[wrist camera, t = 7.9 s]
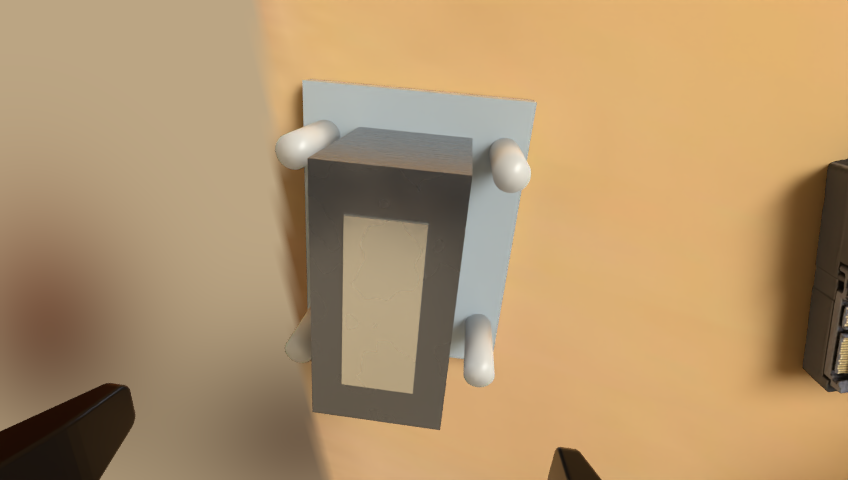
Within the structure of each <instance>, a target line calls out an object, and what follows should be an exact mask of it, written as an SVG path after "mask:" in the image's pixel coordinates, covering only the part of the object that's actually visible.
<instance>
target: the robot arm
mask: <svg viewBox="0 0 848 480" xmlns="http://www.w3.org/2000/svg"><path fill="white" fill-rule="evenodd" d="M134 420H135V410H134V406H133V401H132V397H131V393H130V389H129V388H128V387H127V386H125V385H120V384H113V383H107V384H103V385H101V386H99V387H97V388H95V389H92V390H91V391H88V392H86V393H84V394H81V395H79V396H77V397H75V398H73V399H70V400H68V401H66V402H64V403H62V404H59V405H57V406H55V407H53V408H51V409H49V410H46V411H44V412H42V413H40V414H38V415H35V416H33V417H31V418H29V419H27V420H24V421H22V422H20V423H18V424H16V425H13V426H11V427H9V428H7V429H5V430H2V431H0V480H100V478H101V476H102V475H103V473H104V471H105V470H106V468H107V467H108V465H109V463H110V462H111V460H112V458H113V457H114V455H115V454H116V452H117V450H118V449H119V447H120V446H121V444H122V442H123V441H124V439H125V437H126V436H127V434H128V432H129V431H130V429H131V428H132V425H133V423H134ZM548 480H601V478H600V477H599V476H598V475H597V473H596V472H595V471H594V469H593V468H592V467H591V466H590V464H589V463H588V462H587V460H586V459H585V458H584V457H583V455H582V454H581V453H580V452H579V451H578V450H576V449H571V448H564V447H558V448H557V449H556V450H555V453H554V457H553V460H552V464H551V468H550V471H549V475H548Z"/></svg>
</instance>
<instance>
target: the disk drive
mask: <svg viewBox="0 0 848 480" xmlns="http://www.w3.org/2000/svg"><path fill="white" fill-rule="evenodd" d="M803 369H804V370H805V371H806V372H807V373H808V374H809V375H811V376H812V378H813V379H814V380H815V381H817V382H818V383H819V384H820V385H821V386H822V387H823V388H824V389H825V390H826V391H828V392H833V391H838V392H840V393H846V392H848V159H846V160H840V161H835V162H832V163H830V164H829V166H828V170H827V179H826V187H825V202H824V206H823V211H822V219H821V226H820V234H819V241H818V249H817V258H816V272H815V280H814V286H813V288H812V297H811V304H810V313H809V321H808V329H807V336H806V345H805V352H804V360H803Z"/></svg>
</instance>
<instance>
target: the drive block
mask: <svg viewBox="0 0 848 480" xmlns="http://www.w3.org/2000/svg"><path fill="white" fill-rule="evenodd" d="M307 162H308V211H309V260H310V309H311V358H312V407H313V412H316V413H323V414H330V415H337V416H344V417H352V418H359V419H366V420H373V421H380V422H387V423H394V424H401V425H408V426H415V427H422V428H429V429H436V430H440V426H441V418H442V410H443V402H444V395H445V387H446V379H447V371H448V363H449V355H450V348H451V340H452V332H453V324H454V316H455V308H456V301H457V293H458V285H459V277H460V269H461V261H462V254H463V246H464V238H465V230H466V222H467V214H468V207H469V199H470V191H471V183H472V138H467V137H457V136H447V135H437V134H427V133H417V132H407V131H397V130H387V129H377V128H367V127H358V128H356V129H355V130H353V131H351V132H350V133H348V134H347V135H345V136H343V137H342V138H340V139H338V140H337V141H335V142H333V143H332V144H330V145H328V146H327V147H325V148H323V149H322V150H320V151H318V152H317V153H315V154H313V155H312V156H310V157H309V158H307Z"/></svg>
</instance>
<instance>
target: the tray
mask: <svg viewBox="0 0 848 480" xmlns="http://www.w3.org/2000/svg"><path fill="white" fill-rule="evenodd" d="M536 104H537V102H535V101H534V100H525V99H514V98H504V97H493V96H483V95H472V94H462V93H451V92H441V91H430V90H420V89H409V88H399V87H388V86H378V85H367V84H357V83H346V82H336V81H325V80H315V79H308V80H303V125H304V127H302V128H299V129H297V130H294V131H292V132H289V133H287V134H285V135H283V136H281V137H280V138H279V139H278V141H277V143H276V147H275V152H276V156H277V158H278V160H279V161H280V162H281V164H282V165H284V166H285V167H287V168H289V169H293V170H298V169H301V168H303V167H304V169H305V214H306V258H307V303H308V311H307V312H306V314H305V315H304V317H303V318H302V320H301V321H300V323H299V324H298V326H297V327H296V329H295V331H294V332H293V334H292V335H291V337H290V338H289V340H288V342H287V343H286V345H285V352H286V354H287V356H288V357H289V358H290V359H291V360H293V361H295V362H298V363H306V362H309V361H310V360H311V359H312V358H311V309H310V260H309V211H308V162H307V158H309V157H310V156H312V155H313V154H315V153H317V152H318V151H320V150H322V149H323V148H325V147H327V146H328V145H330V144H332V143H333V142H335V141H337V140H338V139H340V138H342V137H343V136H345V135H347V134H348V133H350V132H351V131H353V130H355V129H356V128H358V127H367V128H377V129H387V130H397V131H407V132H417V133H427V134H437V135H447V136H457V137H467V138H472V183H471V191H470V199H469V207H468V214H467V222H466V230H465V238H464V246H463V254H462V261H461V269H460V277H459V285H458V293H457V301H456V308H455V316H454V324H453V332H452V340H451V348H450V355H449V357H453V358H461V359H464V378H465V380H466V382H467V383H469V384H470V385H472V386H475V387H484V386H487V385H489V384H490V383H491V382H492V381H493V380H494V376H495V374H494V360H493V350H494V344H495V339H496V333H497V327H498V322H499V316H500V310H501V304H502V299H503V293H504V287H505V282H506V276H507V270H508V264H509V259H510V253H511V247H512V242H513V236H514V230H515V224H516V219H517V213H518V207H519V202H520V196H521V190H522V189H524V188H525V187H526V186H527V184H528V183H529V181H530V178H531V170H530V167H529V165H528V163H527V156H528V150H529V144H530V139H531V133H532V127H533V122H534V116H535V110H536Z"/></svg>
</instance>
